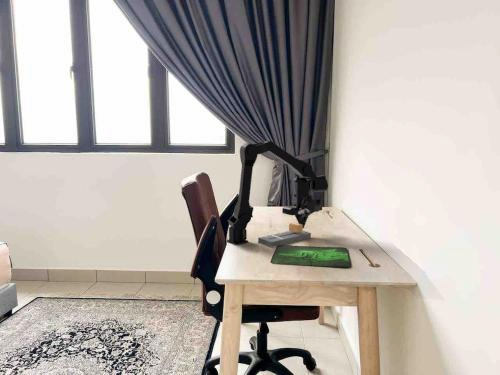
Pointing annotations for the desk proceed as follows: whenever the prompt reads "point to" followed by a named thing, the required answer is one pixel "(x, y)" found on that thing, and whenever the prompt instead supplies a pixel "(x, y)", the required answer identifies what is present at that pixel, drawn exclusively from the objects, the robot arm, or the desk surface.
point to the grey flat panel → (283, 238)
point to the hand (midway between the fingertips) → (302, 228)
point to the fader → (295, 227)
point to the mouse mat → (311, 256)
